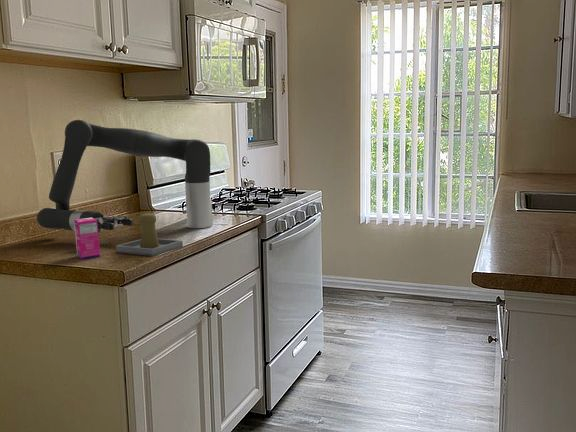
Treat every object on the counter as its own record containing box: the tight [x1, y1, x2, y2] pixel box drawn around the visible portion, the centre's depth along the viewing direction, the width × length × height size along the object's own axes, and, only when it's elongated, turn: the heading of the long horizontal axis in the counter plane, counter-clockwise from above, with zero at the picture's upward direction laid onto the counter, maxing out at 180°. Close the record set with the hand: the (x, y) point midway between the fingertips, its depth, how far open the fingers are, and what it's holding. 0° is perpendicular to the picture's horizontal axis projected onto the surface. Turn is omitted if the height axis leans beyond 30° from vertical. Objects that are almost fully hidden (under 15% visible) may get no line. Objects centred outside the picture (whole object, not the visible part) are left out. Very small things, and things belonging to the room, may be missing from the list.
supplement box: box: [74, 218, 101, 260], centre depth 181 cm, size 6×6×12 cm
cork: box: [139, 212, 159, 249], centre depth 189 cm, size 6×6×11 cm
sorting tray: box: [115, 238, 184, 257], centre depth 189 cm, size 15×15×2 cm
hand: (122, 224), depth 194 cm, fingers open, 8 cm apart
